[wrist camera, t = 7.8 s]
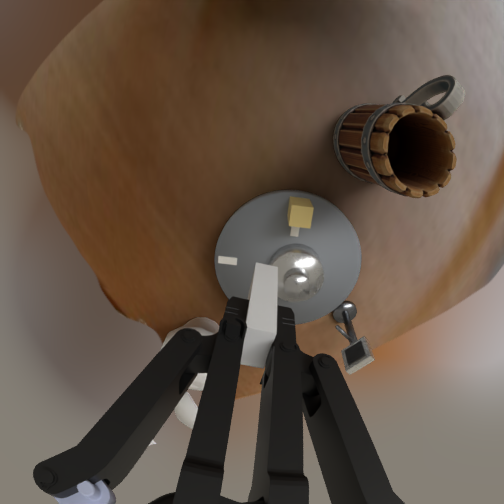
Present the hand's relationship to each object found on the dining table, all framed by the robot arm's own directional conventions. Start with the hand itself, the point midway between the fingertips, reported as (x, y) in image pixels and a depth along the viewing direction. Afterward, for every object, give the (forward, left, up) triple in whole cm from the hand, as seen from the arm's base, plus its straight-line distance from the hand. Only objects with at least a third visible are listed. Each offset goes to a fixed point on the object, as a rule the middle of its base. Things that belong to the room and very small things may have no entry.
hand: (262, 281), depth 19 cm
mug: (-13, +13, -20) cm, 28 cm away
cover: (+7, +4, -16) cm, 18 cm away
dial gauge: (+15, +13, -20) cm, 28 cm away
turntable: (+7, +3, -18) cm, 20 cm away
